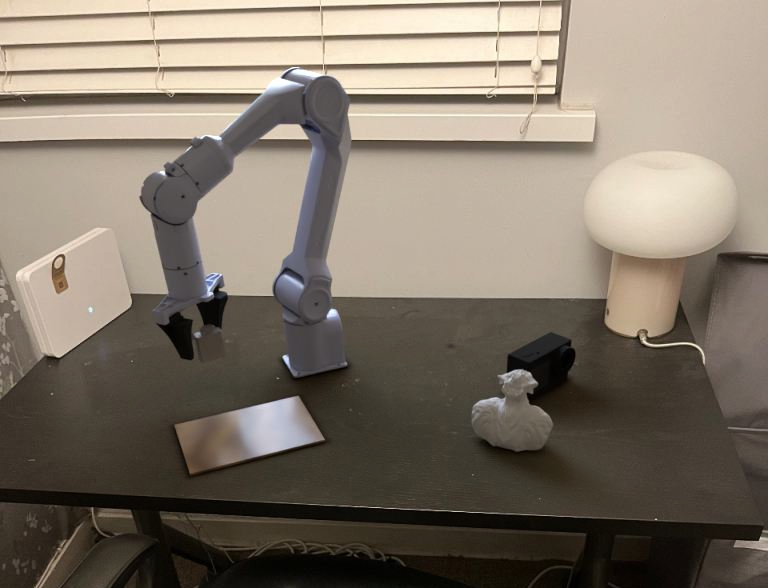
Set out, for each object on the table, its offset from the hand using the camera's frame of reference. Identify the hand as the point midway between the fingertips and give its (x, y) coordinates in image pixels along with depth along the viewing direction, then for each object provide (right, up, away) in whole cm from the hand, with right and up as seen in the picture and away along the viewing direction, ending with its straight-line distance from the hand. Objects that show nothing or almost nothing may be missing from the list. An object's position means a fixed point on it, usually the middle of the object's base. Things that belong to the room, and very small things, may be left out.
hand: (201, 348), depth 119 cm
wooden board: (+8, -14, -3) cm, 16 cm away
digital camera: (+53, -6, +3) cm, 54 cm away
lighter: (0, -2, +1) cm, 2 cm away
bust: (+47, -15, -7) cm, 50 cm away
